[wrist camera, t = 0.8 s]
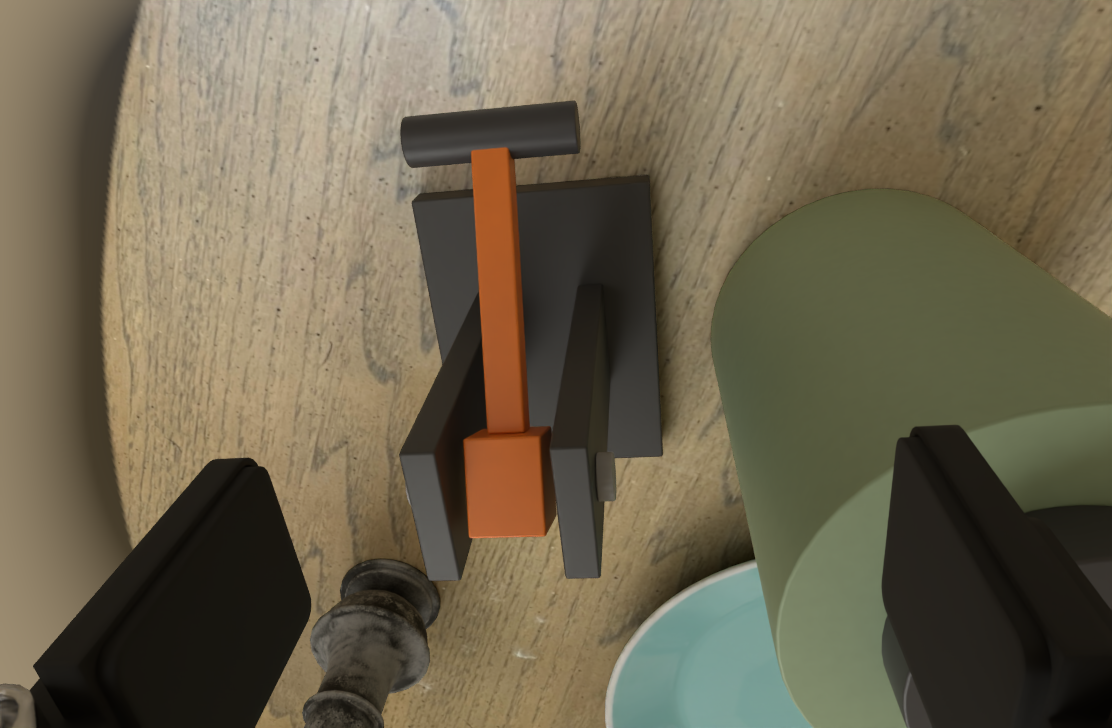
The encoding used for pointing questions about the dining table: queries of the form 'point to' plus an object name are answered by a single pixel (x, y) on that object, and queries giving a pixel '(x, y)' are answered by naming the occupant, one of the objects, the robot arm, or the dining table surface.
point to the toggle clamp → (542, 357)
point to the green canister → (896, 418)
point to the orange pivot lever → (500, 304)
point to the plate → (704, 662)
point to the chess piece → (371, 643)
